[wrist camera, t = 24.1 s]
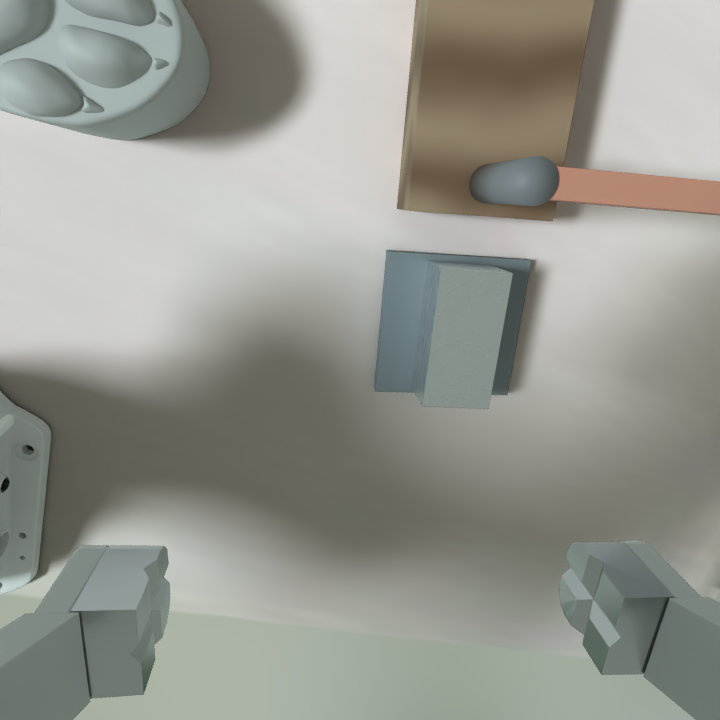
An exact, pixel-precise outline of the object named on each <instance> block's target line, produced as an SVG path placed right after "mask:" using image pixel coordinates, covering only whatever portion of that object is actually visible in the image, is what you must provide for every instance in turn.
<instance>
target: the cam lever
mask: <svg viewBox="0 0 720 720" xmlns="http://www.w3.org/2000/svg"><path fill="white" fill-rule="evenodd" d="M469 189H470V193H471V195H472V196H473V198H474V199H475V200H477V201H478V202H480V203H487V204H505V205H524V206H538V205H541V204H544V203H545V202H547V201H558V202H570V203H582V204H594V205H605V206H617V207H629V208H641V209H652V210H664V211H676V212H688V213H700V214H711V215H720V182H717V181H707V180H696V179H685V178H675V177H664V176H653V175H643V174H632V173H622V172H611V171H600V170H590V169H579V168H568V167H558V166H556V165H555V164H554V163H553V162H552V161H551V160H550V159H548V158H546V157H543V156H534V157H528V158H522V159H515V160H509V161H503V162H497V163H491V164H485V165H482V166H480V167H478V168H477V169H476V170H475V171H474V172H473V174H472V176H471V178H470V182H469Z"/></svg>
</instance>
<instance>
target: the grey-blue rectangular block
mask: <svg viewBox="0 0 720 720" xmlns="http://www.w3.org/2000/svg"><path fill="white" fill-rule="evenodd" d="M512 275H513V273H511V272H508V271H506V270H503V269H500V268H498V267H495V266H493V265H482V264H468V263H455V262H442V261H428V260H427V265H426V273H425V281H424V289H423V297H422V305H421V313H420V321H419V329H418V337H417V345H416V353H415V361H414V369H413V377H412V385H411V387H412V388H413V390H414V392H415V394H416V396H417V397H418V399H419V401H420V403H421V405H422V407H449V408H476V409H489V404H490V398H491V392H492V387H493V381H494V376H495V370H496V365H497V359H498V353H499V348H500V342H501V337H502V331H503V326H504V320H505V314H506V309H507V303H508V298H509V292H510V287H511V281H512Z"/></svg>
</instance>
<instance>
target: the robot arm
mask: <svg viewBox="0 0 720 720" xmlns="http://www.w3.org/2000/svg"><path fill="white" fill-rule="evenodd" d="M27 445H30V446H32V447H33V449H34V451H33V450H30V449H29V448H28V447H27ZM50 445H51V430H50V428H49V426H48V425H47V424H46V423H45V422H44V421H43V420H41V419H40V418H38V417H36V416H35V415H33V414H31V413H30V412H28V411H26V410H24V409H22V408H20V407H18V406H16V405H15V404H13V403H12V402H11V401H10V400H9V399H8V398H7V397H6V396H5V395H4V394H3V393H2V392H1V391H0V595H1V594H5V593H8V592H10V591H13V590H16V589H18V588H20V587H22V586H24V585H25V584H27V583H28V582H30V581H31V580H32V578H33V577H34V576H35V575H36V574H37V570H38V565H39V556H40V545H41V535H42V525H43V515H44V505H45V495H46V485H47V475H48V465H49V455H50ZM566 560H567V561H568V563H569V565H570V568H569V569H568V570H567V571H566V572H565V573H564V574H563V575H562V576H561V582H560V587H559V594H560V603H561V606H562V609H563V612H564V615H565V616H566V618H567V620H568V621H569V623H570V625H571V626H573V627H574V628H575V629H577V630H578V631H580V632H581V633H583V634H584V638H583V646H584V648H585V649H586V651H587V652H588V654H589V656H590V657H591V659H592V660H593V662H594V664H595V665H596V667H597V668H598V670H599V671H600V673H601V675H618V674H619V675H620V674H621V675H623V674H644V677H645V678H646V679H647V680H648V681H649V682H651V683H652V684H653V685H655V686H656V687H657V688H658V689H659V690H660V691H662V692H663V693H664V694H665V695H666V696H668V697H669V698H670V699H671V700H672V701H674V702H675V703H676V704H677V705H679V706H680V707H681V708H682V709H683V710H685V711H686V712H687V713H688V714H690V715H691V716H692V717H693V718H694V719H695V720H720V603H719V602H717V601H715V600H713V599H711V598H709V597H701V596H700V595H699V594H698V593H697V592H696V591H695V590H694V589H693V588H692V587H691V586H690V585H689V584H688V583H687V582H686V581H685V580H684V579H683V578H682V577H681V576H680V575H679V574H678V573H677V572H676V571H675V570H674V569H673V568H672V567H671V566H670V565H669V564H668V563H667V562H666V561H665V560H664V559H663V558H662V557H661V556H660V555H659V554H658V553H657V552H656V551H655V550H654V549H653V548H652V547H651V546H650V545H649V544H648V543H646V542H644V541H642V540H633V541H618V542H573V543H572V544H571V546H570V547H569V548H568V552H567V556H566ZM168 564H169V562H168V551H167V548H166V547H165V546H136V545H111V546H107V545H82V546H81V547H79V548H78V549H76V550H75V552H74V553H73V555H72V556H71V558H70V559H69V561H68V562H67V564H66V565H65V567H64V568H63V570H62V571H61V573H60V575H59V576H58V578H57V579H56V581H55V582H54V584H53V585H52V587H51V588H50V590H49V591H48V593H47V594H46V596H45V597H44V599H43V601H42V602H41V604H40V605H39V607H38V608H37V610H36V611H35V613H30V614H24V615H22V616H21V617H19V618H17V619H16V620H14V621H13V622H11V623H10V624H8V625H6V626H5V627H3V628H2V629H0V720H73V719H74V718H75V717H76V716H77V715H78V714H79V713H80V712H81V711H82V710H83V709H84V708H85V707H86V706H87V705H88V703H89V702H90V699H91V698H103V697H118V696H132V695H143V694H144V691H145V689H146V686H147V683H148V680H149V677H150V674H151V671H152V668H153V665H154V661H155V648H154V645H155V644H156V643H157V642H158V641H159V640H160V639H161V638H162V637H163V634H164V630H165V627H166V624H167V618H168V613H169V607H170V583H169V582H168V581H167V580H166V579H165V578H164V575H165V573H166V570H167V567H168Z"/></svg>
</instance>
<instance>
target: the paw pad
mask: <svg viewBox="0 0 720 720" xmlns="http://www.w3.org/2000/svg"><path fill="white" fill-rule="evenodd" d="M209 80H210V62H209V56H208V52H207V49H206V46H205V44H204V41H203V39H202V36H201V34H200V32H199V30H198V28H197V26H196V24H195V22H194V21H193V19H192V17H191V16H190V14H189V13H188V11H187V9H186V8H185V6H184V5H183V3H182V2H181V0H0V110H2V111H5V112H8V113H11V114H15V115H18V116H22V117H25V118H29V119H33V120H37V121H40V122H44V123H48V124H51V125H55V126H59V127H62V128H66V129H70V130H73V131H77V132H81V133H85V134H89V135H94V136H98V137H104V138H109V139H116V140H134V139H139V138H143V137H146V136H150V135H153V134H156V133H159V132H161V131H164V130H166V129H169V128H171V127H173V126H175V125H177V124H178V123H180V122H181V121H182V120H184V119H185V118H186V117H187V116H188V115H189V114H190V113H191V112H192V111H193V110H194V109H195V108H196V107H197V106H198V105H199V103H200V102H201V101H202V99H203V97H204V96H205V94H206V91H207V88H208V85H209Z"/></svg>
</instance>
